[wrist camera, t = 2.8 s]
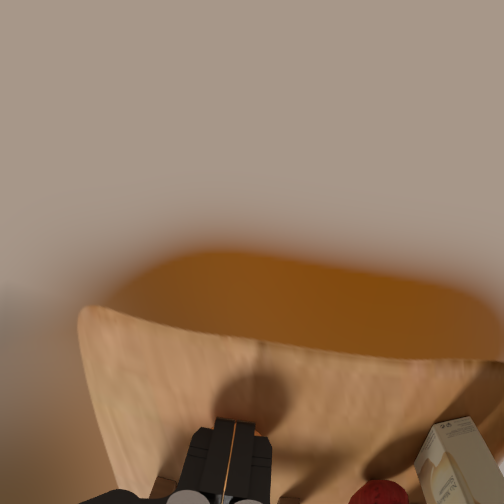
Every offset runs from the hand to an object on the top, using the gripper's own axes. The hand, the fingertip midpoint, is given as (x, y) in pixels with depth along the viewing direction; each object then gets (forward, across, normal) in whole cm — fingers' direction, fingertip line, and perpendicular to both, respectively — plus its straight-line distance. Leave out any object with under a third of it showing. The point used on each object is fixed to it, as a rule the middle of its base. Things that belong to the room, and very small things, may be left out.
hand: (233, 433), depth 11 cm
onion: (+9, -14, +16) cm, 23 cm away
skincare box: (+9, -19, +11) cm, 24 cm away
